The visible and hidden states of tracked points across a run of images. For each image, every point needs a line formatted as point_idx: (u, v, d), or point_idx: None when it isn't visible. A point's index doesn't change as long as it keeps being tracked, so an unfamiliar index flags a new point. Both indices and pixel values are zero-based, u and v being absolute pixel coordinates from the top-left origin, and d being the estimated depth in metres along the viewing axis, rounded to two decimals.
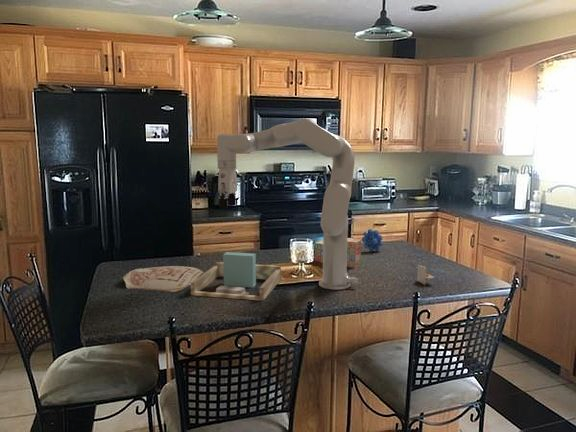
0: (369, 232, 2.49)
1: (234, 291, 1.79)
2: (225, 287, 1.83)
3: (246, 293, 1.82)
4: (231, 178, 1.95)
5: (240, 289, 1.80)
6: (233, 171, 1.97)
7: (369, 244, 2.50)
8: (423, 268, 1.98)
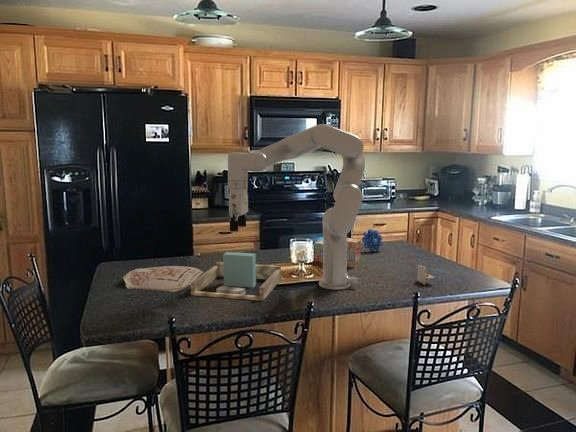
0: (369, 232, 2.49)
1: (234, 292, 1.79)
2: (225, 287, 1.83)
3: None
4: (243, 199, 1.84)
5: (240, 290, 1.80)
6: (244, 191, 1.86)
7: (369, 244, 2.50)
8: (423, 268, 1.98)
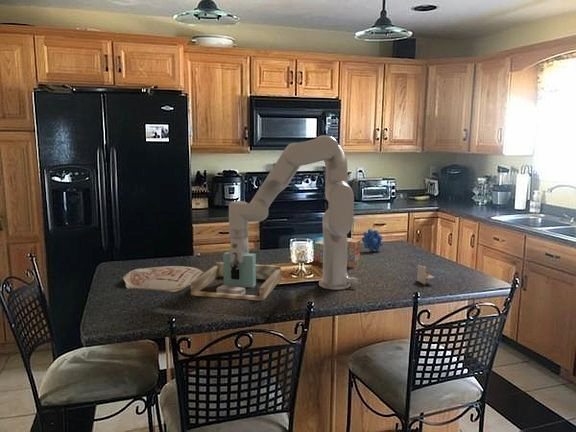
0: (369, 232, 2.49)
1: (234, 291, 1.80)
2: (226, 287, 1.84)
3: None
4: (244, 248, 1.87)
5: (240, 289, 1.81)
6: (245, 239, 1.89)
7: (369, 244, 2.50)
8: (423, 268, 1.98)
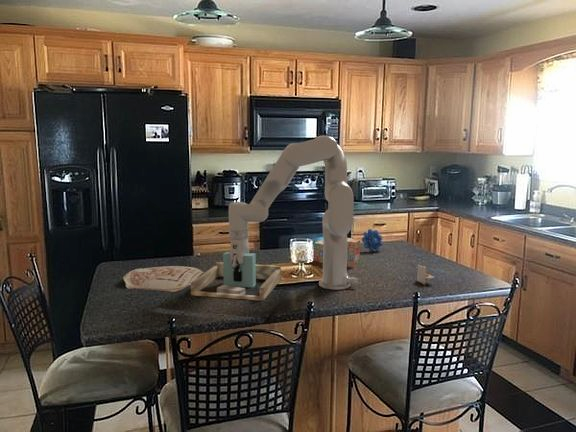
0: (369, 232, 2.49)
1: (233, 291, 1.80)
2: (226, 286, 1.84)
3: None
4: (244, 249, 1.87)
5: (240, 289, 1.80)
6: (245, 240, 1.89)
7: (369, 244, 2.50)
8: (423, 268, 1.98)
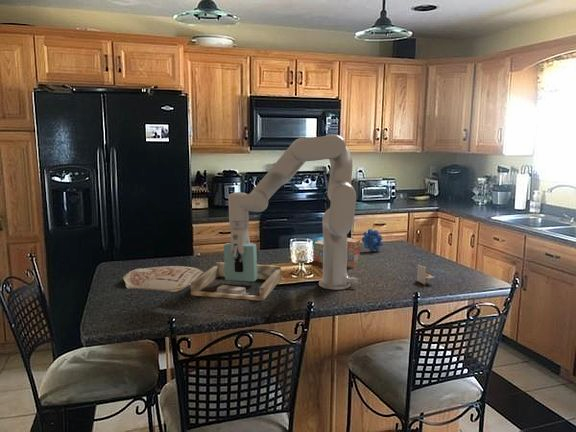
0: (369, 232, 2.49)
1: (234, 291, 1.80)
2: (226, 286, 1.84)
3: (246, 293, 1.82)
4: (244, 239, 1.87)
5: (240, 289, 1.81)
6: (246, 230, 1.88)
7: (369, 244, 2.50)
8: (423, 268, 1.98)
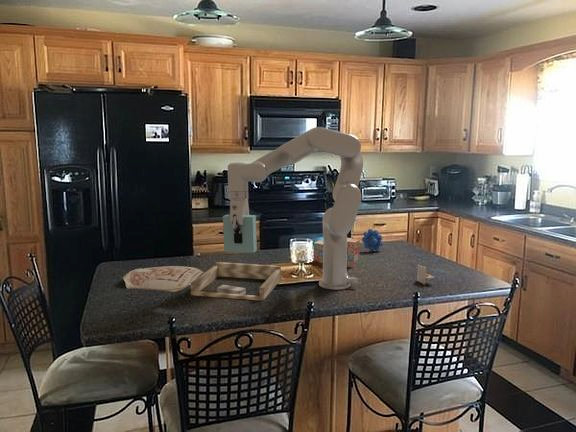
0: (369, 232, 2.49)
1: (234, 291, 1.80)
2: (226, 286, 1.84)
3: None
4: (244, 210, 1.85)
5: (240, 289, 1.81)
6: (245, 201, 1.86)
7: (369, 244, 2.50)
8: (423, 268, 1.98)
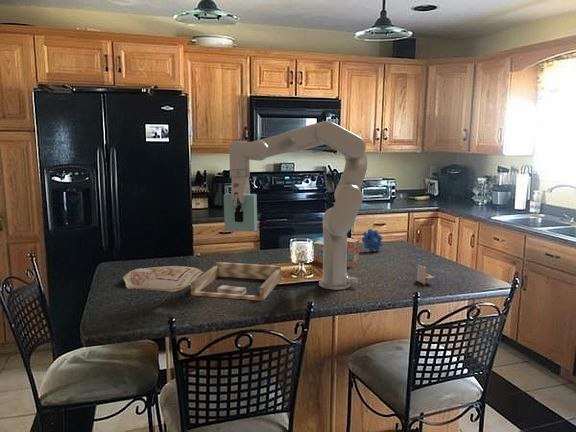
0: (369, 232, 2.49)
1: (235, 291, 1.80)
2: (226, 287, 1.84)
3: None
4: (245, 188, 1.85)
5: (241, 289, 1.81)
6: (246, 180, 1.87)
7: (369, 244, 2.50)
8: (423, 268, 1.98)
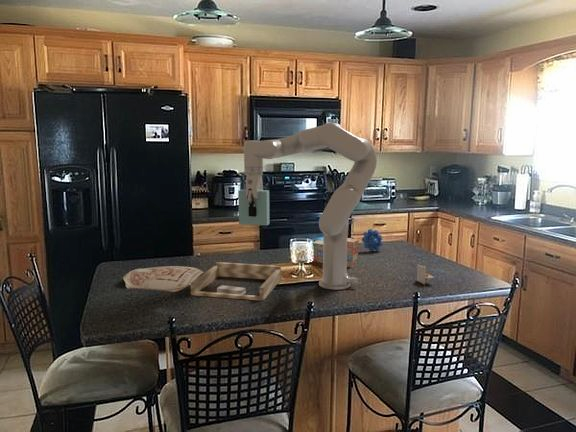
0: (369, 232, 2.49)
1: (234, 291, 1.80)
2: (226, 287, 1.84)
3: None
4: (258, 184, 1.96)
5: (240, 289, 1.81)
6: (260, 177, 1.98)
7: (369, 244, 2.50)
8: (423, 268, 1.98)
